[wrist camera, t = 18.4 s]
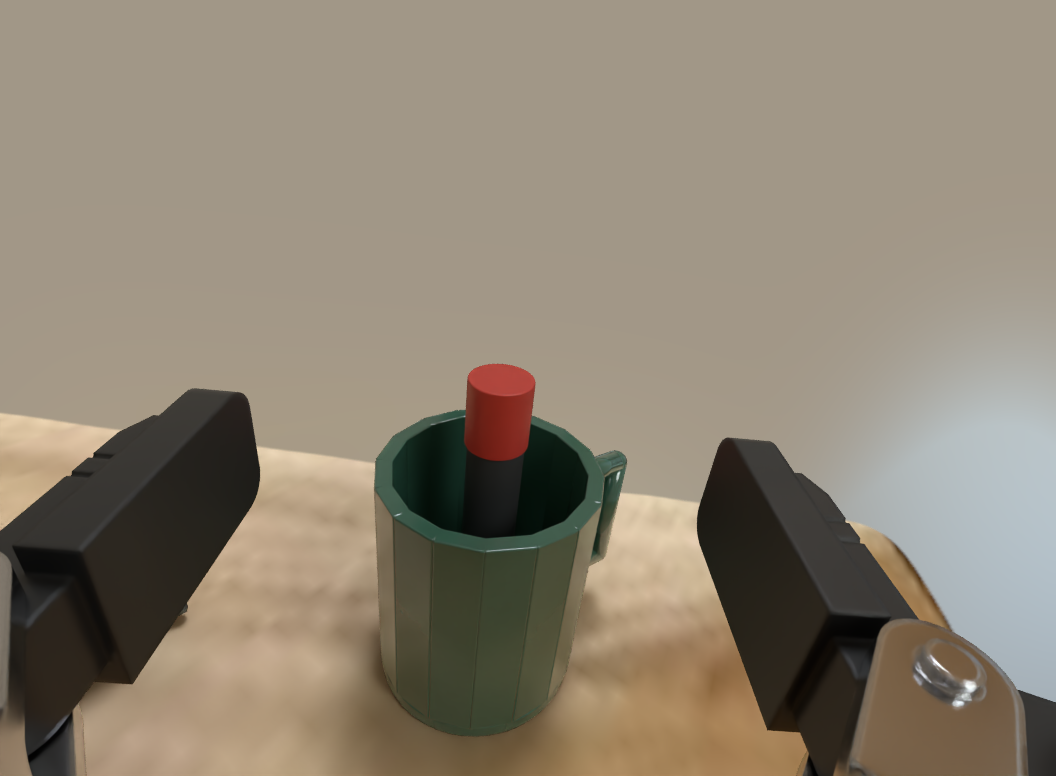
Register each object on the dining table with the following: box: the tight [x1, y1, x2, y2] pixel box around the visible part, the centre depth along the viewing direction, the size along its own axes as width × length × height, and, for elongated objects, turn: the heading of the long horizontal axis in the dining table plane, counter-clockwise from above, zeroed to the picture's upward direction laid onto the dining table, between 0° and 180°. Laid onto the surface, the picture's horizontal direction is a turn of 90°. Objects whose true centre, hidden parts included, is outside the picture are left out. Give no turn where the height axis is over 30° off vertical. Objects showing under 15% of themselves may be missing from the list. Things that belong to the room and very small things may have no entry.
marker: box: [462, 364, 535, 538], centre depth 21 cm, size 2×2×12 cm
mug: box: [374, 410, 627, 737], centre depth 23 cm, size 11×8×10 cm
